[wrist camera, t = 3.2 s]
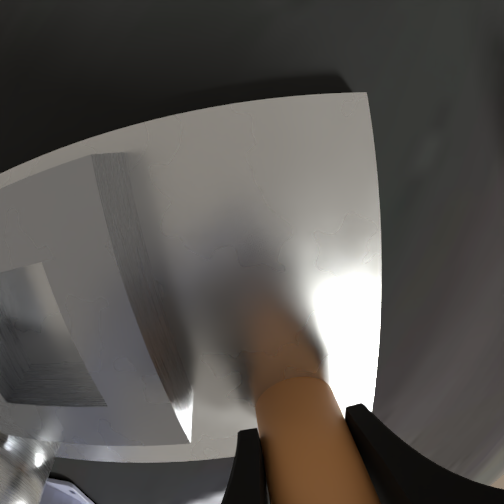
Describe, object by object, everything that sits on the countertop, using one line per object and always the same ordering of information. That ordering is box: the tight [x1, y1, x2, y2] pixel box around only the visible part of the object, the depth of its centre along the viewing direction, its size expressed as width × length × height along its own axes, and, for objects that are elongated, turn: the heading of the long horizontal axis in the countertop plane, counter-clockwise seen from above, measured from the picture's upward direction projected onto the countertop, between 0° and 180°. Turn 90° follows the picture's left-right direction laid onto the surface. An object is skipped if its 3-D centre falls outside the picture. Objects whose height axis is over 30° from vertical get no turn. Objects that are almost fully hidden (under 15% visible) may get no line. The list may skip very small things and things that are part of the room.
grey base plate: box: [0, 92, 381, 504], centre depth 7 cm, size 14×21×7 cm, turn 99°
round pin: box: [255, 377, 381, 504], centre depth 8 cm, size 3×3×7 cm
